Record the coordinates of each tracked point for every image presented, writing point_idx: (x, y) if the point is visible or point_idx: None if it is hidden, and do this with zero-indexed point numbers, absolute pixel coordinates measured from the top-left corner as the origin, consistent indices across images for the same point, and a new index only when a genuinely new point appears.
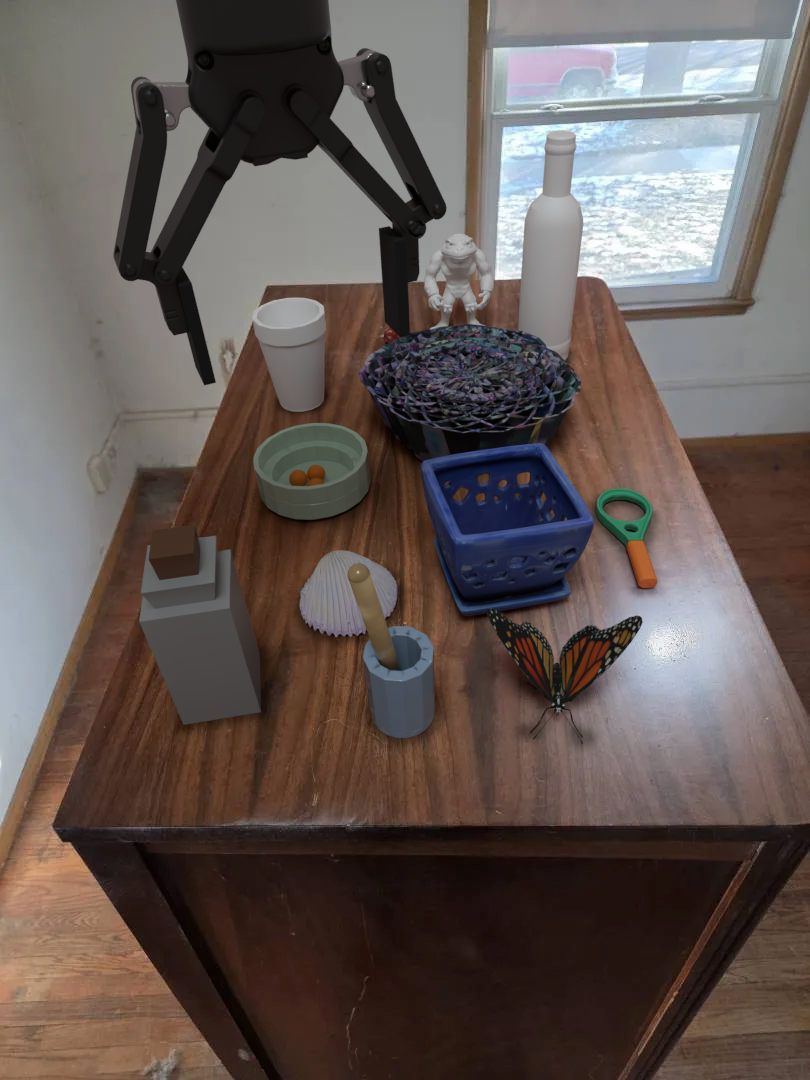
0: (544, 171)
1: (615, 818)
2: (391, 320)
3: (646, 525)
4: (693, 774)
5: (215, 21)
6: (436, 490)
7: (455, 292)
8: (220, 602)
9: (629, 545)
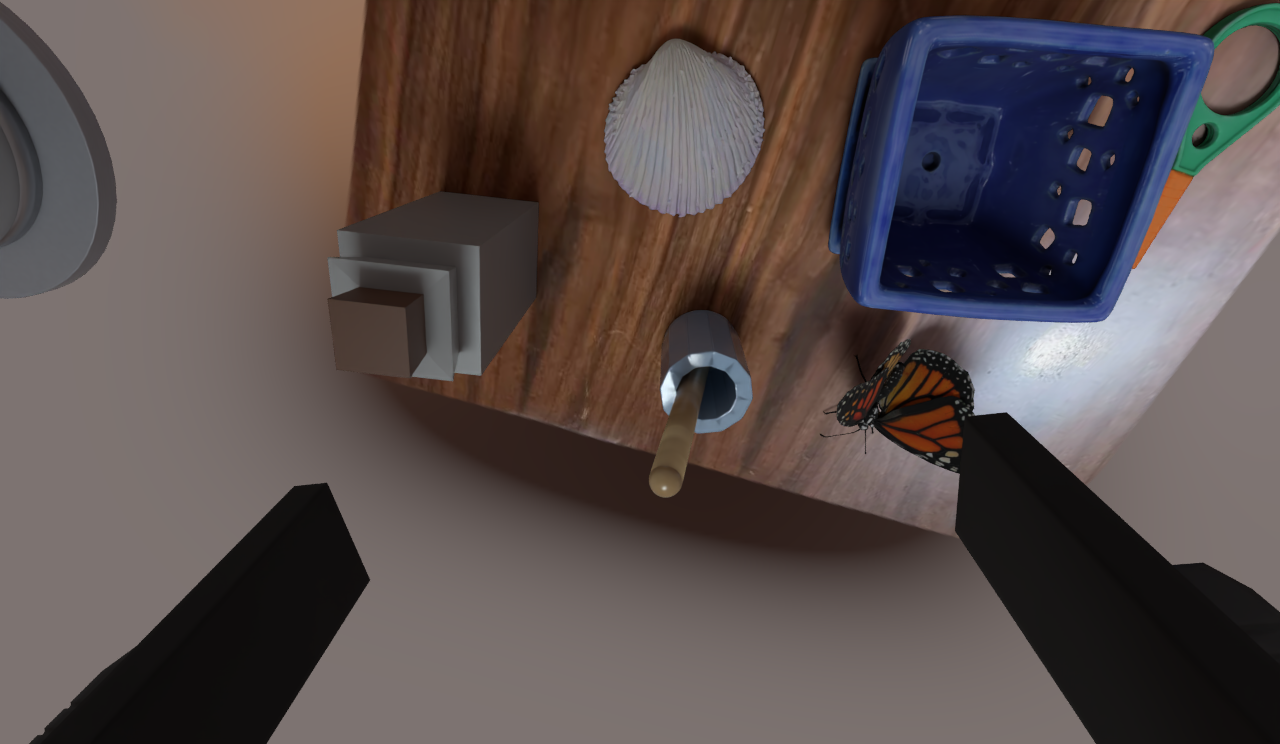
0: None
1: (850, 506)
2: (974, 494)
3: (1233, 142)
4: (947, 493)
5: None
6: (895, 154)
7: None
8: (467, 360)
9: None
